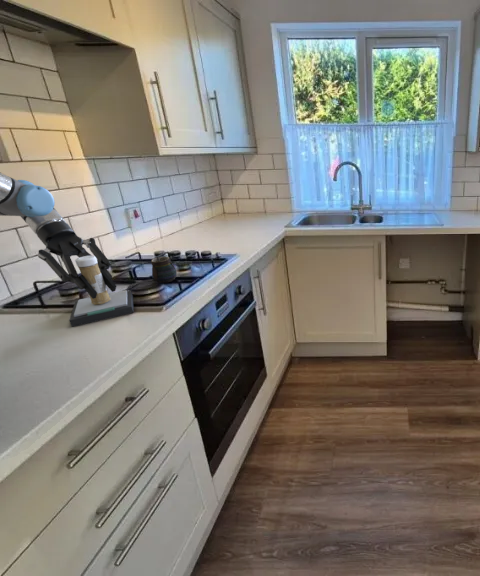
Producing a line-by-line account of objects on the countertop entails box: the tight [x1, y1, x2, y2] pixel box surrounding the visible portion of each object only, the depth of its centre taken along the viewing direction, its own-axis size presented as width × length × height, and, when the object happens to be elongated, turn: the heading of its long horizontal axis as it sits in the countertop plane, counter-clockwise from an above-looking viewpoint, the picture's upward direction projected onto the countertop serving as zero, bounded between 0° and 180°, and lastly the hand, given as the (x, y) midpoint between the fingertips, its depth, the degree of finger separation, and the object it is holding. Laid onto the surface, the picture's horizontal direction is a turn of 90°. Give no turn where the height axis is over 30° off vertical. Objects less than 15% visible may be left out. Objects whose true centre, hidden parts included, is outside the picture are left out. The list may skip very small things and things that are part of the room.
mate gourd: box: [150, 256, 177, 284], centre depth 123 cm, size 7×8×10 cm
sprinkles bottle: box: [74, 255, 111, 305], centre depth 101 cm, size 5×5×13 cm
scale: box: [68, 289, 134, 328], centre depth 105 cm, size 14×14×3 cm
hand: (104, 292), depth 101 cm, fingers closed on sprinkles bottle, 4 cm apart
